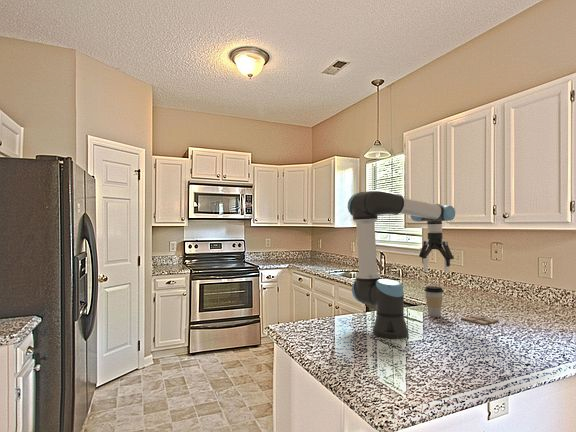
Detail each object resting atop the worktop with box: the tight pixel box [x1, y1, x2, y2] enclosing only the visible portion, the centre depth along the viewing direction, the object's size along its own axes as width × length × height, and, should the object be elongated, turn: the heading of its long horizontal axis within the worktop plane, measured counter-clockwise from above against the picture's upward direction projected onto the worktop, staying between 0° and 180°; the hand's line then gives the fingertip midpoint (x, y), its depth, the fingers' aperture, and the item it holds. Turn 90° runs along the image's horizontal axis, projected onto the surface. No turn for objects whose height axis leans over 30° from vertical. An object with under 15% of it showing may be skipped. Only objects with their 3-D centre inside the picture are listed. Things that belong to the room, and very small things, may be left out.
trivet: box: [460, 314, 499, 326], centre depth 177 cm, size 12×12×1 cm
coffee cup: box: [424, 285, 444, 318], centre depth 190 cm, size 9×9×15 cm
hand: (435, 271), depth 191 cm, fingers open, 13 cm apart
